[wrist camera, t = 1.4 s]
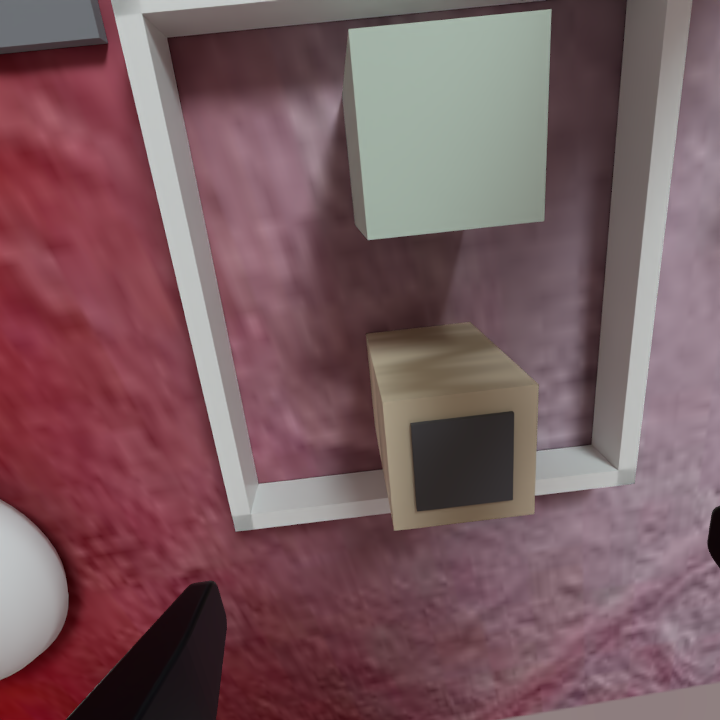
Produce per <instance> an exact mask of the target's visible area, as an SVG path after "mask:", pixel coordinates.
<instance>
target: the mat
mask: <svg viewBox="0 0 720 720" xmlns="http://www.w3.org/2000/svg"><path fill="white" fill-rule="evenodd" d="M107 43H108V41H107V37H106V33H105V29H104V25H103V21H102V17H101V13H100V8H99V4H98V0H0V54H5V53H16V52H26V51H36V50H46V49H56V48H66V47H77V46H87V45H97V44H107Z"/></svg>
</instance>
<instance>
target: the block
mask: <svg viewBox="0 0 720 720" xmlns="http://www.w3.org/2000/svg"><path fill="white" fill-rule="evenodd" d="M550 38H551V9H547V10H537V11H527V12H517V13H507V14H497V15H487V16H477V17H467V18H456V19H446V20H436V21H426V22H416V23H406V24H396V25H386V26H375V27H365V28H355V29H348V38H347V49H346V59H345V70H344V80H343V91H342V100H343V110H344V120H345V130H346V140H347V150H348V160H349V171H350V181H351V191H352V201H353V211H354V221H355V225H356V227H357V228H358V229H359V230H360V231H361V233H362V234H363V235H364V236H365V238H366V239H367V240H374V239H384V238H393V237H402V236H411V235H421V234H430V233H439V232H448V231H458V230H467V229H476V228H485V227H495V226H504V225H513V224H522V223H532V222H541V221H544V214H545V185H546V156H547V126H548V97H549V67H550Z"/></svg>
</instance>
